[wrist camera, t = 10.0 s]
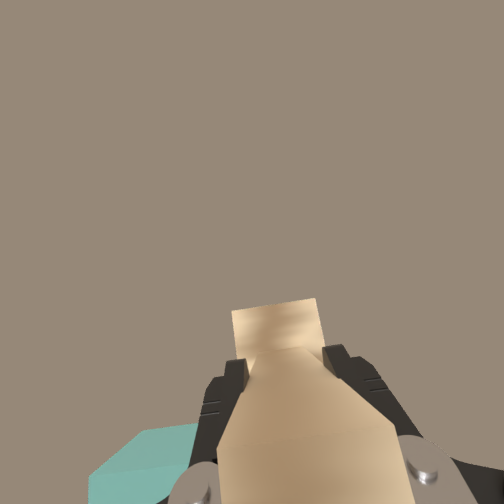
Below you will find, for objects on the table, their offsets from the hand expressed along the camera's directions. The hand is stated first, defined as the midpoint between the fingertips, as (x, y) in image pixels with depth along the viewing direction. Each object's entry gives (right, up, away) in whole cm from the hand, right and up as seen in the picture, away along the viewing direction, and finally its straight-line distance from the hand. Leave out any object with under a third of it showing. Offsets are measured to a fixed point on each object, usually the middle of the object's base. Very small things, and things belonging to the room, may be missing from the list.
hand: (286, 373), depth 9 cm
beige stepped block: (+1, -4, +4) cm, 5 cm away
